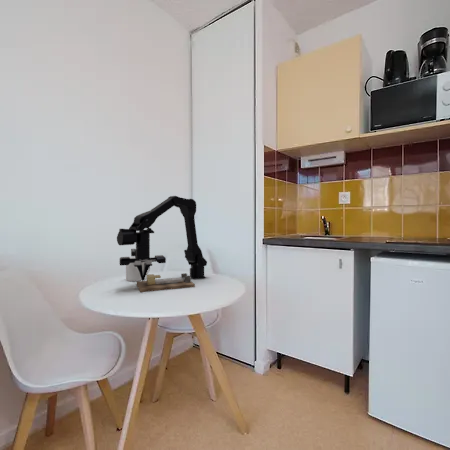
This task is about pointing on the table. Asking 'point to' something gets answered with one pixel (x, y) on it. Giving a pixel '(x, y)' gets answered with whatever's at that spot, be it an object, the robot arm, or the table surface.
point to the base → (165, 285)
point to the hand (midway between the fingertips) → (142, 280)
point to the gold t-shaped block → (152, 278)
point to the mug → (134, 272)
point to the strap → (169, 280)
